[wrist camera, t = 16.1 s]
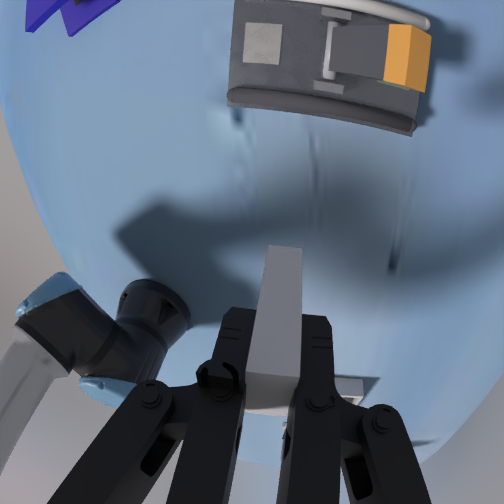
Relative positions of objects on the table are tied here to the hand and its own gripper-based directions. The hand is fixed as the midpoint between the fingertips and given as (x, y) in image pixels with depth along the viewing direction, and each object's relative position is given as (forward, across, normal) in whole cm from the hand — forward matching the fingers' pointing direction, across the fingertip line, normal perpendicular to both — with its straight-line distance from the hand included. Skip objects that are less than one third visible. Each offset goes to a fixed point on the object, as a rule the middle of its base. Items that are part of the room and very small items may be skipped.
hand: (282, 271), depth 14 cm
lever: (+22, -4, -12) cm, 26 cm away
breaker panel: (+27, -4, -12) cm, 30 cm away
